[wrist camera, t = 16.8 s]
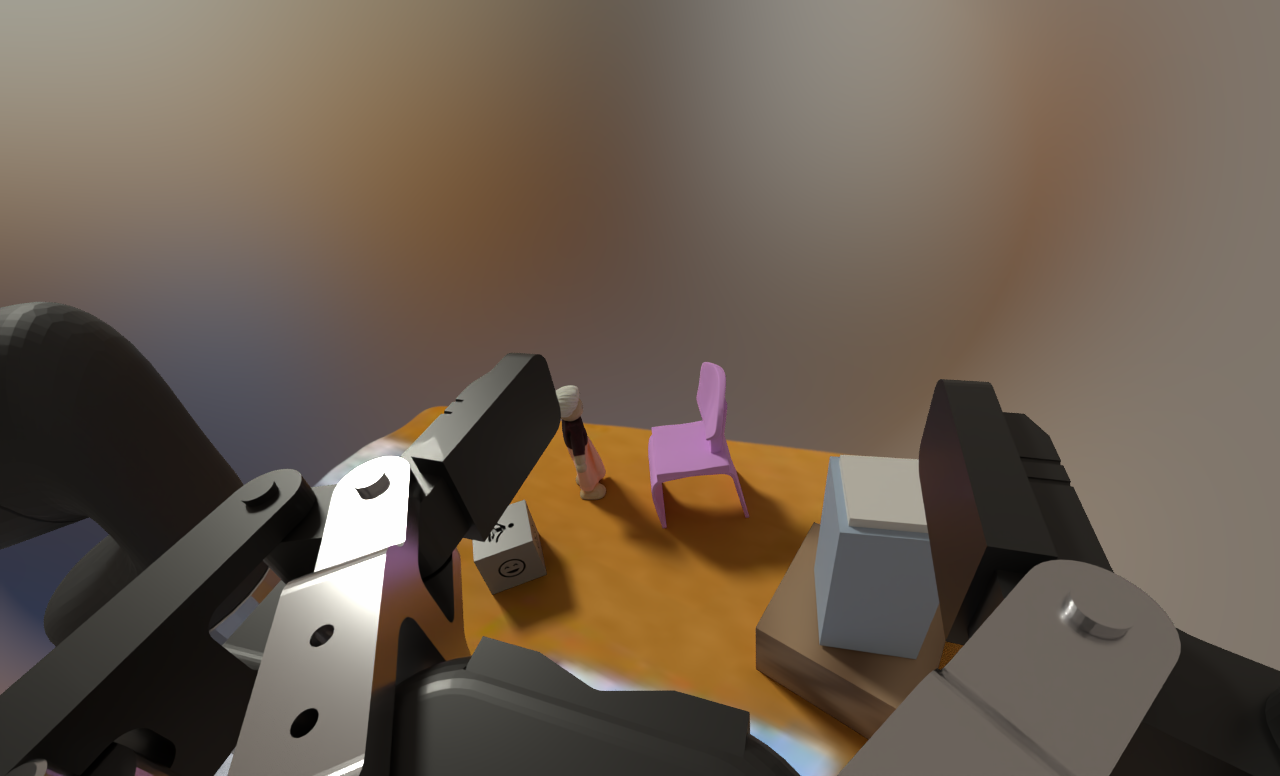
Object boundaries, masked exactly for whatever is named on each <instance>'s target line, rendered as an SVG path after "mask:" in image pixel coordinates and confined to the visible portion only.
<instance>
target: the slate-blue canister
mask: <svg viewBox="0 0 1280 776" xmlns="http://www.w3.org/2000/svg"><path fill="white" fill-rule="evenodd" d="M814 575H815V589H816V602H817V616H818V630H819V644H820V645H823V646H829V647H836V648H843V649H850V650H856V651H863V652H870V653H876V654H883V655H890V656H897V657H903V658H910V659H917V656H918V654H919V651H920V649H921V646H922V644H923V642H924V639H925V637H926V634H927V632H928V629H929V627H930V624H931V622H932V620H933V617H934V615H935V612H936V610H937V607H938V605H939V597H938V591H937V585H936V579H935V572H934V566H933V560H932V554H931V547H930V541H929V535H928V529H927V522H926V516H925V510H924V503H923V497H922V491H921V485H920V478H919V459H903V458H886V457H870V456H853V455H840V457H831V456H830V461H829V468H828V475H827V482H826V489H825V496H824V503H823V510H822V517H821V524H820V531H819V538H818V545H817V552H816V559H815V566H814Z"/></svg>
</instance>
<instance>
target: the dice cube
mask: <svg viewBox="0 0 1280 776" xmlns="http://www.w3.org/2000/svg"><path fill="white" fill-rule="evenodd" d="M473 555H474V563H475V564H476V566H477V568H478V570H479V572H480V573H481V575H482V577H483V579H484V581H485V582H486V584H487V586H488V588H489V590H490V591H491V593H492V595H493V594H496V593H498V592H501V591H504V590H506V589H509V588H512V587H514V586H517V585H520V584H522V583H525V582H528V581H530V580H533V579H536V578H538V577H541V576H544V575H547V572H546V567H545V563H544V558H543V553H542V548H541V543H540V538H539V533H538V531H537V528H536V526H535V523H534V521H533V518H532V516H531V514H530V511H529V509H528V506H527V504H526V501H525V500H522V501H519V502H517V503H514V504H511V505H509V506H508V507H507V509H506V510H505V512H504V513H503V515H502V516H501V518H500V519H499V521H498V522H497V524H496V525H495V527H494V528H493V530H492V531H491V533H490V535H489V536H488V538H487V539H486V541H485V542H481V541H476V540H473Z"/></svg>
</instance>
